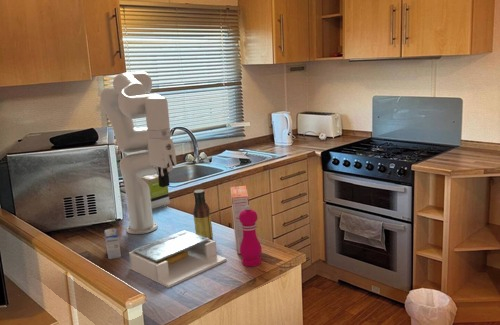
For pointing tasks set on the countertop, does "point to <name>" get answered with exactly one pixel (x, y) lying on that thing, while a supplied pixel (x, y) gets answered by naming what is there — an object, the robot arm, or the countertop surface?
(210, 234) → the sauce bottle
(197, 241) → the cover
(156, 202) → the tea box
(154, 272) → the white shallow open box
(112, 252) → the medicine box
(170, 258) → the golden yellow ridged bar
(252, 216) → the pepper mill
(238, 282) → the countertop surface
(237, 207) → the cracker box
